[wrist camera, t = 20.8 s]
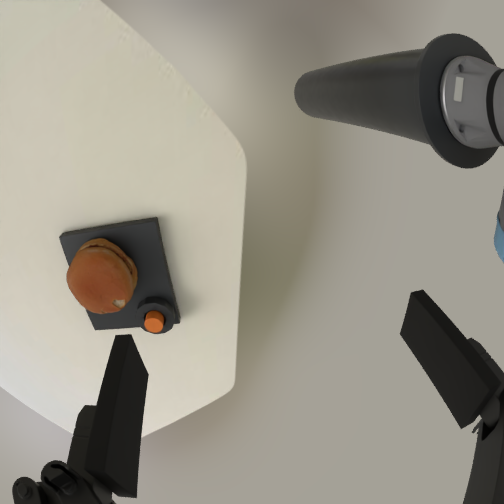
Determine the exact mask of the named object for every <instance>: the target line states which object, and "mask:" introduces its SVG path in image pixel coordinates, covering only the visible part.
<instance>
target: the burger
mask: <svg viewBox="0 0 504 504" xmlns="http://www.w3.org/2000/svg"><path fill="white" fill-rule="evenodd" d="M137 273H138V272H137V268H136V266H135V264H134V262H133V260H132V259H131V258H130V257H128V256H127V255H126V254H125V253H124V252H123V251H122V250H121V249H120V248H119V247H118V246H117V245H115V244H113V243H112V242H109V241H108V240H106V239H103V238H98V239H92V240H90V241H88V242H86V243H84V244H83V245H82V246H81V247H80V249H79V250H78V251H77V252H76V255H75V257H74V258H73V260H72V263H71V264H70V267H69V269H68V272H67V283H68V286H69V289H70V290H71V292H72V294H73V295H74V296H75V298H76V299H77V300H78V302H79V303H80V304H81V305H82V306H83V307H85V308H86V309H87V310H89V311H91V312H93V313H98V314H106V313H113V312H118V311H120V310H121V309H122V308H124V307H125V305H126V304H127V303H128V302H129V301H130V300H131V298H132V295H133V292H134V289H135V287H136V285H137V280H138V277H137Z"/></svg>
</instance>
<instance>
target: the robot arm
mask: <svg viewBox="0 0 504 504" xmlns="http://www.w3.org/2000/svg"><path fill="white" fill-rule="evenodd" d="M438 99H439V107H440V111H441V115H442V118H443V121H444V123H445V125H446V127H447V129H448V131H449V132H450V134H451V135H452V136H453V137H454V138H455V139H456V140H457V141H458V142H459V143H461V144H463V145H465V146H469V147H472V148H489V147H497V146H504V69H501V68H499V67H497V66H495V65H492V64H490V63H488V62H486V61H484V60H481V59H479V58H476V57H472V56H457V57H455V58H453V59H451V60H450V61H449V62H448V63H447V64H446V65H445V67H444V69H443V71H442V73H441V76H440V80H439V87H438ZM494 245H495V248H496V251H497V252H498V255H499V257H500V259H501V260H502V261H503V262H504V190H503V196H502V201H501V206H500V210H499V212H498V215H497V226H496V231H495V236H494ZM400 335H401V336H402V338H403V339H404V341H405V342H406V344H407V345H408V347H409V348H410V349H411V351H412V352H413V354H414V355H415V357H416V358H417V360H418V361H419V363H420V364H421V365H422V367H423V369H424V370H425V372H426V373H427V375H428V376H429V378H430V379H431V381H432V383H433V384H434V386H435V387H436V389H437V390H438V392H439V394H440V395H441V397H442V398H443V400H444V402H445V403H446V405H447V406H448V408H449V409H450V411H451V413H452V415H453V416H454V418H455V420H456V421H457V423H458V425H459V426H460V428H461V429H462V428H464V427H466V426H467V425H469V424H471V423H473V422H474V421H475V419H476V418H477V417H478V416H479V414H480V416H481V418H482V419H481V420H480V421H479V423H478V424H477V425H476V426H475V427H474V429H473V431H472V433H474V432H475V431H476V430H477V429H478V428H479V430H478V432H477V434H478V437H477V443H476V449H475V455H474V460H473V465H472V469H471V474H470V478H469V483H468V487H467V490H466V494H465V498H464V501H463V504H504V373H503V371H502V370H501V369H500V367H499V366H498V365H497V364H496V362H495V361H494V360H493V359H491V356H490V355H489V354H488V353H486V350H485V349H484V348H483V346H482V345H481V344H480V343H479V342H477V341H476V340H474V339H472V338H469V339H466V337H465V336H464V335H463V334H462V333H461V332H460V331H459V329H458V328H457V327H456V326H455V325H454V324H453V322H452V321H451V320H450V319H449V318H448V317H447V315H446V314H445V313H444V312H443V311H442V310H441V309H440V308H439V307H438V305H437V304H436V303H434V301H433V300H432V299H431V298H430V297H429V296H428V295H427V294H426V293H425V291H424V290H420V291H415V292H412V293H411V295H410V299H409V303H408V307H407V311H406V314H405V318H404V322H403V325H402V329H401V332H400ZM148 376H149V374H148V372H147V370H146V368H145V366H144V363H143V361H142V359H141V357H140V354H139V352H138V350H137V347H136V345H135V343H134V340H133V338H132V335H131V334H127V335H116V336H115V339H114V342H113V346H112V349H111V352H110V356H109V359H108V363H107V367H106V370H105V374H104V378H103V381H102V385H101V389H100V393H99V397H98V401H97V405H96V406H93V405H85V406H84V407H83V409H82V410H81V411H80V413H79V414H78V417H77V421H76V425H75V426H76V428H75V429H74V433H73V435H74V436H73V438H72V442H71V446H70V451H69V456H68V460H67V464H66V463H64V462H62V461H57V460H54V461H51V462H49V463H47V464H46V465H45V466H44V468H43V470H42V472H41V480H42V482H35V481H33V480H32V479H30V478H28V477H21V478H19V479H17V480H16V481H15V483H14V485H13V489H12V492H13V499H14V503H15V504H116V503H115V502H114V501H113V500H112V492H113V493H115V494H116V495H117V496H120V497H131V498H137V482H138V467H139V455H140V443H141V433H142V423H143V414H144V406H145V398H146V390H147V383H148Z"/></svg>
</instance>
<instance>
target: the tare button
mask: <svg viewBox="0 0 504 504" xmlns="http://www.w3.org/2000/svg"><path fill="white" fill-rule="evenodd" d="M163 324H164V316H163V315H162V313H160V312H158V311H150V312H148V313H147V315H146V318H145V323H144V325H145V328H146V329H147V330H148V331H150V332H153V333H157V332H160V331H161V330H162V329H163Z"/></svg>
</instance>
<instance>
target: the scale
mask: <svg viewBox="0 0 504 504" xmlns="http://www.w3.org/2000/svg"><path fill="white" fill-rule="evenodd" d="M59 238H60V241H61V244H62V248H63V251H64V254H65V256H66V259H67V262H68V265H69V267H70V264H71V263H72V260H73V258H74V257H75V255H76V252H77V251H78V250H79V249H80V247H81V246H82V245H83V244H84V243H86V242H88V241H90V240H92V239H98V238H103V239H106V240H108V241H109V242H112V243H113V244H115V245H117V246H118V247H119V248H120V249H121V250H122V251H123V252H124V253H125V254H126V255H127V256H128V257H130V258H131V259H132V260H133V262H134V264H135V266H136V268H137V272H138V273H137V277H138V280H137V285H136V287H135V289H134V292H133V295H132V298H131V300H130V301H129V302H128V303H127V304H126V305H125V307H124V308H122V309H121V310H120V311H118V312H113V313H106V314H98V313H93V312H91V311H89V310H87V309H86V308H85V309H86V311H87V313H88V316H89V318H90V320H91V322H92V325H93V327H94V329H95V330H105V329H120V328H133V327H141V328H142V329H143V330H145V331H147V332H150V331H148V330H147V329H146V328H145V325H144V323H145V318H146V315H147V313H148V312H150V311H158V312H160V313H162V315H163V316H164V324H163V329H162V330H161V331H160V332H157V333H153V332H150V333H153V334H161V333H166V332H167V331H169V330H170V329H172V327H173V325H174V324H178V323H180V315H179V311H178V307H177V303H176V299H175V295H174V291H173V287H172V283H171V279H170V275H169V270H168V266H167V262H166V257H165V253H164V248H163V244H162V239H161V234H160V229H159V224H158V219H157V217H156V218H149V219H142V220H136V221H129V222H123V223H117V224H111V225H105V226H99V227H93V228H87V229H81V230H76V231H70V232H65V233H62V234H61V236H60V237H59Z"/></svg>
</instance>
